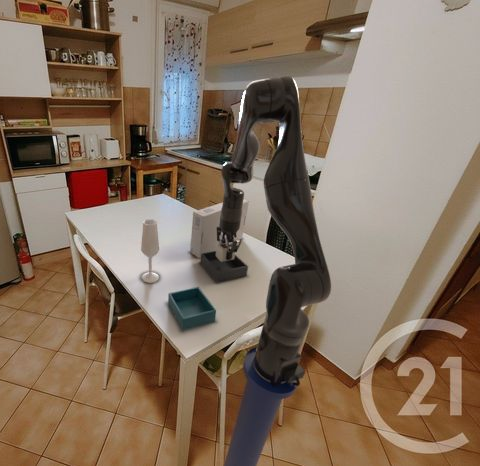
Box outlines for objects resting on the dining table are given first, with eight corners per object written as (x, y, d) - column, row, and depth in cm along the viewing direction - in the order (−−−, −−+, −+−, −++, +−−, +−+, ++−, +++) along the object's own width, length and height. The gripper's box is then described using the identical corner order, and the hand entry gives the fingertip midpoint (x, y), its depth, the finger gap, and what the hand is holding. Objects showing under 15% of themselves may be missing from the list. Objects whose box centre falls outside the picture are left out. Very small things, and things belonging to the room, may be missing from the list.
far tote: (246, 275, 104) (248, 266, 102) (217, 282, 100) (218, 272, 98) (227, 257, 116) (228, 248, 114) (200, 262, 112) (201, 253, 110)
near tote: (214, 321, 83) (216, 310, 81) (182, 330, 80) (183, 319, 78) (197, 296, 93) (198, 286, 91) (168, 303, 90) (168, 293, 88)
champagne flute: (159, 272, 105) (160, 218, 94) (158, 283, 99) (158, 226, 88) (143, 271, 106) (142, 217, 95) (140, 282, 100) (138, 225, 89)
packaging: (232, 233, 136) (238, 197, 127) (242, 238, 132) (249, 201, 122) (189, 252, 120) (192, 211, 110) (199, 258, 115) (203, 216, 106)
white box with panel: (234, 259, 105) (236, 247, 102) (221, 261, 103) (222, 249, 100) (228, 253, 108) (230, 241, 106) (215, 256, 107) (216, 244, 104)
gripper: (212, 211, 102) (208, 248, 110) (232, 226, 90) (226, 267, 98) (228, 208, 104) (223, 246, 112) (251, 223, 92) (243, 263, 100)
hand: (225, 255), depth 105 cm, fingers closed on white box with panel, 4 cm apart
